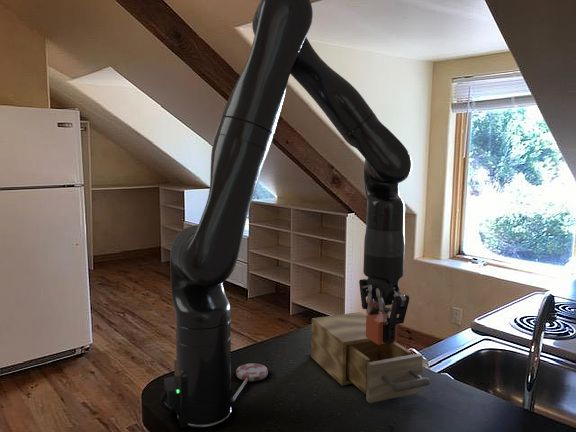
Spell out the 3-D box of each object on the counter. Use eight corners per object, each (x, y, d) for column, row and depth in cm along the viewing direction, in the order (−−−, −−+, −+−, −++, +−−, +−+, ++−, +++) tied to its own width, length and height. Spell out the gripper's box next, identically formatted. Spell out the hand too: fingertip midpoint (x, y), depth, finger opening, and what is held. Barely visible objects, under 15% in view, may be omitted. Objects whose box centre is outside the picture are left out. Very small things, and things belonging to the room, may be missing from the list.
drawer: (438, 404, 86) (440, 366, 85) (384, 417, 82) (386, 376, 81) (381, 363, 103) (382, 331, 102) (334, 371, 99) (335, 338, 98)
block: (377, 344, 90) (378, 322, 89) (365, 336, 94) (366, 315, 93) (397, 341, 91) (398, 319, 91) (384, 333, 95) (385, 312, 95)
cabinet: (395, 375, 100) (397, 333, 98) (341, 385, 95) (343, 342, 94) (359, 349, 113) (360, 311, 112) (310, 357, 108) (311, 318, 107)
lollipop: (215, 395, 88) (241, 361, 103) (215, 400, 88) (241, 366, 103) (249, 399, 87) (271, 364, 101) (250, 405, 87) (271, 369, 101)
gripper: (424, 257, 85) (420, 349, 87) (380, 243, 98) (377, 323, 101) (389, 260, 82) (385, 355, 85) (348, 245, 96) (345, 328, 98)
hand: (380, 337), depth 93 cm, fingers closed on block, 4 cm apart
